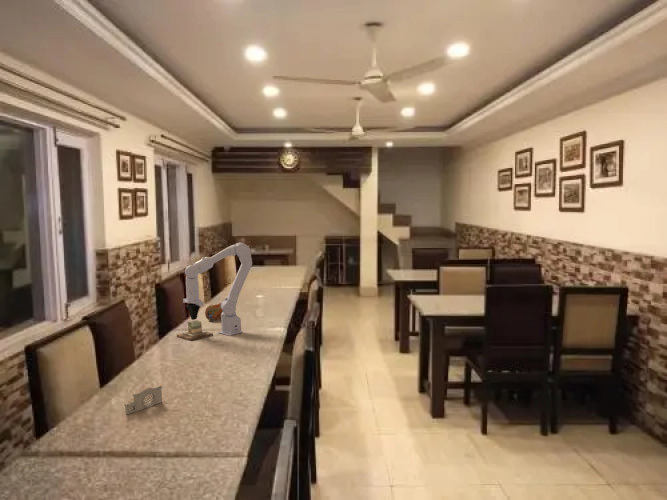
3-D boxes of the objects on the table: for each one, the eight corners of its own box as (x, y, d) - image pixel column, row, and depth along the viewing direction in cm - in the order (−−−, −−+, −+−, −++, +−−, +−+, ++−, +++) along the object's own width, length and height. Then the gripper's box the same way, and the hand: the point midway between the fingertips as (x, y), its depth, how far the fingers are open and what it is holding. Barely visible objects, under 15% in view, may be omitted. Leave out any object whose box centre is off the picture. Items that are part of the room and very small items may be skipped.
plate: (213, 335, 235) (212, 331, 235) (190, 341, 227) (190, 337, 226) (198, 331, 244) (198, 328, 243) (176, 336, 235) (176, 333, 234)
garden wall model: (127, 415, 146) (125, 396, 146) (124, 414, 148) (122, 394, 147) (163, 402, 156) (162, 384, 155) (160, 401, 157) (159, 382, 156)
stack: (201, 333, 235) (201, 321, 235) (193, 335, 232) (192, 323, 231) (196, 332, 238) (196, 320, 238) (188, 334, 235) (187, 321, 234)
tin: (208, 322, 264) (207, 306, 263) (204, 321, 265) (203, 305, 265) (230, 316, 275) (229, 301, 275) (226, 316, 277) (225, 301, 277)
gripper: (176, 290, 235) (178, 318, 236) (193, 293, 225) (195, 323, 227) (189, 288, 240) (191, 316, 241) (207, 291, 231) (208, 320, 232)
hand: (194, 319), depth 234 cm, fingers closed
